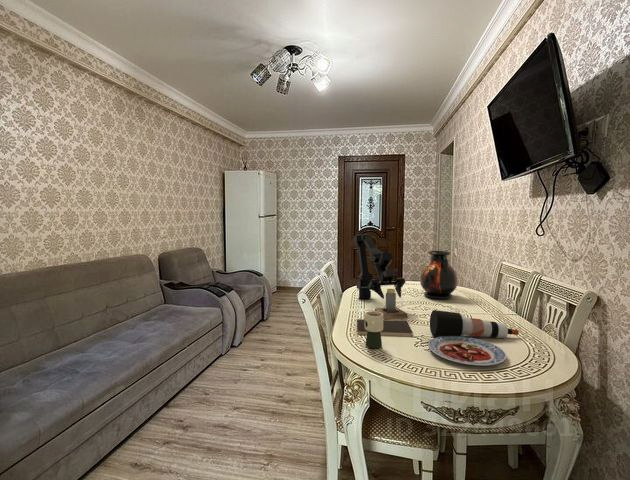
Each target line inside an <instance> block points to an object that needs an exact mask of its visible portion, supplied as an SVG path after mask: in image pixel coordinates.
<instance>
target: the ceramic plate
mask: <svg viewBox="0 0 630 480" xmlns="http://www.w3.org/2000/svg"><path fill="white" fill-rule="evenodd" d="M428 348H429V350H430V351H431V352H432V353H434V354H435V355H437V356H438V357H440V358H442V359H445V360H448V361H451V362H455V363H459V364H463V365H468V366H469V365H471V366H481V367H482V366H494V365H498V364H501V363H503V362H505V360H506V359H507V354H506V352H505V351H504V349H502V348H501V347H499V346H498V345H496V344H494V343H491V342H489V341H486V340H482V339H479V338H474V337H471V336H464V335H461V336H437V337H434V338H432V339H430V340H429V341H428Z"/></svg>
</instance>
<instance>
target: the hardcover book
mask: <svg viewBox="0 0 630 480" xmlns="http://www.w3.org/2000/svg"><path fill="white" fill-rule="evenodd" d="M364 322H365V318H363V319H361V318H357V319H356V331H357V335H366V336H367V332H368V331H367V330H365V325H364ZM380 333H381V336H399V337H412V336H413V333H414V332H413V330H412V328H411V326H410V324H409V322H408V320H398V319H397V320H395V319H393V320H392V319H383V330H382V331H380Z"/></svg>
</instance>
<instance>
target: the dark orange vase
mask: <svg viewBox="0 0 630 480" xmlns="http://www.w3.org/2000/svg"><path fill="white" fill-rule="evenodd" d="M427 253H428V254H429V256H430V261H429V262H428V263H427V264H426V265H425V266H424V267H423V269H422V271H421V273H420V279H419V282H420V283H419V284H420V286H421V288H422V289H423V290H424V291H425V292H423V296H424V297H426V298H428V299H431V300H436V301H447V300H450V299H452V298H453V296H454V295H453V294H452V293H454V291H455V290H456V289H457V287H458V283H459V280H458V275H457V273H456V270H455V269H454V267H453V266H452V265H451V264H450V263H449V259H448V257H449V256H450V255H451V251H448V250H447V251H446V250H429V251H428V252H427Z"/></svg>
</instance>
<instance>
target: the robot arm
mask: <svg viewBox="0 0 630 480" xmlns="http://www.w3.org/2000/svg"><path fill="white" fill-rule="evenodd" d="M352 239H353V243H354V246H355V248H356V249H357V250H358V251H357V252H358V261H359V268H360V269H359V271H360V273H359V275H358V280H357V282H356V289H357V290H358V300H366V301H369V300H370V299H371V297H372V292H375V293H376V294H377V295H378V296H379V297H380V298H382V300H384V299H385V295H384V293H383V290H382V288H381V287H382V286H393V287H394V289H395V293H396V295H397V296H398V297H399V298H401V297H402V288H403V287H404V285H405V284H406V279H405V278H404V277H397V278H395V280H393V279H394V277H396V276H398V275H399V271H398V269H397V268H393V269H388V267H389V266H390V264H391V262H392V261H393V258H394V257H393V255H392V254H391V253H390V252H388V251H387V250H383V251H382V250H380V249H378V247H377V245H376V244H375V242H374V240H373V238H372V234H370V233H363V234H355V235H354V236H353V238H352ZM367 250H368V252H369V256H367V255H368V253H367ZM368 258H369V261H370V262H371V264H374V269H373V270H374V271H376V273H377V278H376V279H375V278H373V274H372V273H371V272H370V271H369V263H368Z"/></svg>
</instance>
